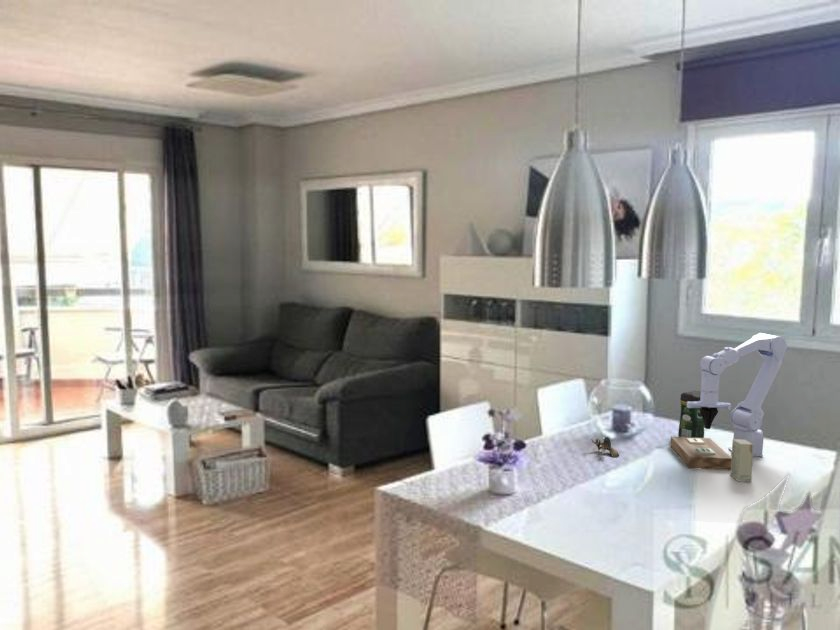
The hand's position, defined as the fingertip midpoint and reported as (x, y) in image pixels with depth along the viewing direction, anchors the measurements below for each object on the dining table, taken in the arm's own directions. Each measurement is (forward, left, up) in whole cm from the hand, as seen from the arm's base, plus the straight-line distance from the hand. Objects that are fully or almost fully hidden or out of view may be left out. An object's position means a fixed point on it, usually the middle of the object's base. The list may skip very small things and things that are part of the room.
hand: (707, 428), depth 249 cm
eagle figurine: (+35, +3, -10) cm, 37 cm away
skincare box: (-4, +23, -10) cm, 26 cm away
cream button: (+3, -3, -9) cm, 10 cm away
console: (+3, +3, -10) cm, 11 cm away
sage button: (+3, +9, -9) cm, 13 cm away
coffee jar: (-1, -22, -10) cm, 24 cm away
